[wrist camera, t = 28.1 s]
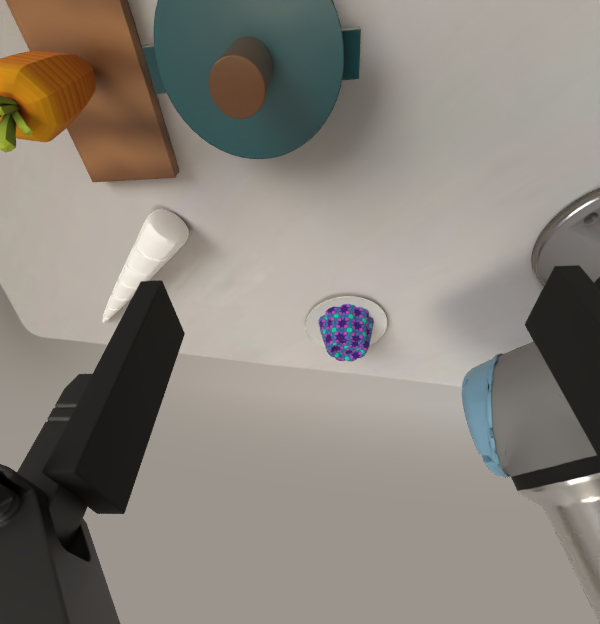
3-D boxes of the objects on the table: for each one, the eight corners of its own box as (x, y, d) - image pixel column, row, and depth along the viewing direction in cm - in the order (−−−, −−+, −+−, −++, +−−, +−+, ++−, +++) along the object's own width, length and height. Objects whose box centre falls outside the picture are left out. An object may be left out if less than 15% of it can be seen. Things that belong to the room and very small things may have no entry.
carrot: (44, 43, 31) (-100, 95, 20) (95, 23, 30) (-29, 66, 19) (83, 107, 34) (-22, 180, 23) (130, 91, 33) (42, 160, 22)
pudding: (293, 337, 58) (292, 364, 54) (324, 282, 50) (325, 309, 46) (362, 356, 61) (365, 383, 57) (402, 306, 53) (409, 334, 49)
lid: (342, 151, 33) (347, 188, 28) (186, 161, 34) (164, 198, 29) (345, -80, 23) (353, -88, 18) (124, -58, 24) (74, -59, 19)
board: (179, 171, 40) (175, 177, 39) (98, 176, 40) (92, 182, 39) (93, -111, 26) (84, -114, 25) (-28, -97, 26) (-43, -99, 25)
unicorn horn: (79, 307, 54) (63, 331, 51) (159, 199, 42) (145, 221, 39) (110, 322, 57) (97, 347, 53) (195, 225, 44) (185, 248, 41)
